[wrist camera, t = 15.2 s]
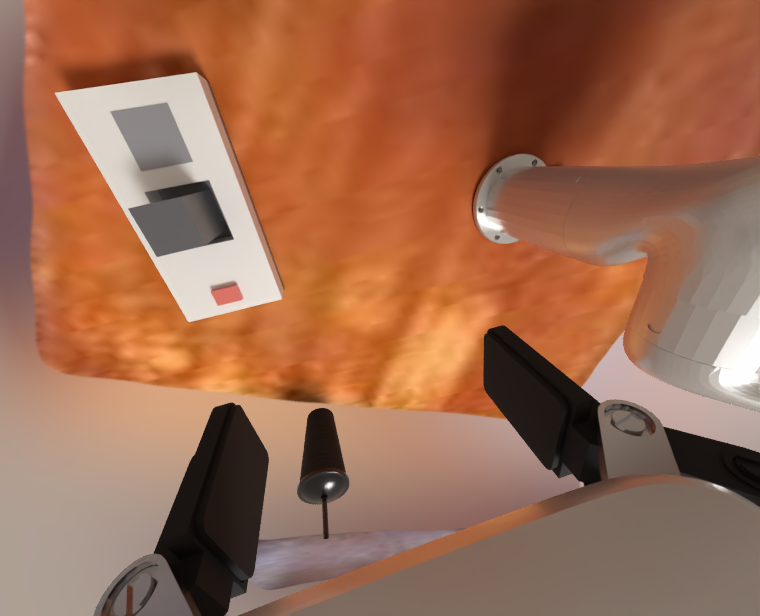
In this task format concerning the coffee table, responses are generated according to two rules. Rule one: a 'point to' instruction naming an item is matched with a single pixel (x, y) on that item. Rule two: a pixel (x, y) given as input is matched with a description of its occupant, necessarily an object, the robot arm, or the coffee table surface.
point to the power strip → (180, 183)
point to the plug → (180, 222)
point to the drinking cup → (322, 464)
